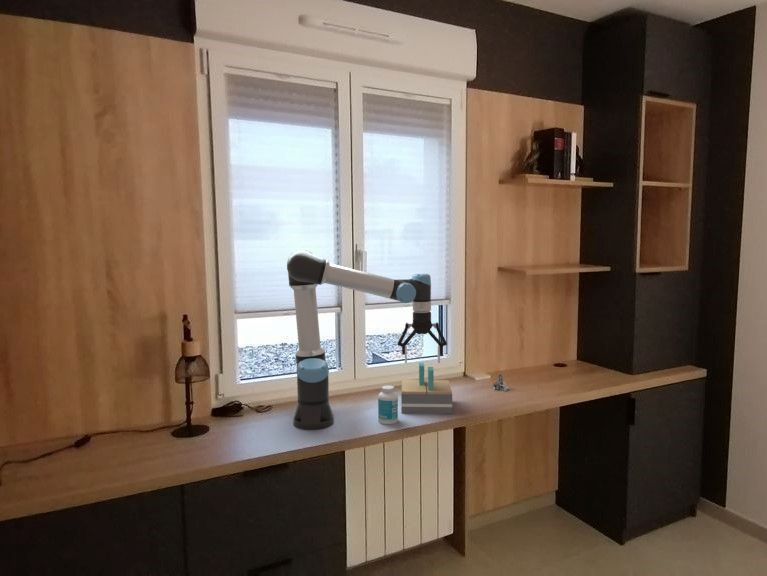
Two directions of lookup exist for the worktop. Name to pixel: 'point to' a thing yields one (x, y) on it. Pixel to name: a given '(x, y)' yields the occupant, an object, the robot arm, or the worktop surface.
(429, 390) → the flap
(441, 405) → the carton
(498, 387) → the grey irregular piece
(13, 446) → the worktop surface
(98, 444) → the worktop surface
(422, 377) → the flap
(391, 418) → the pill bottle
